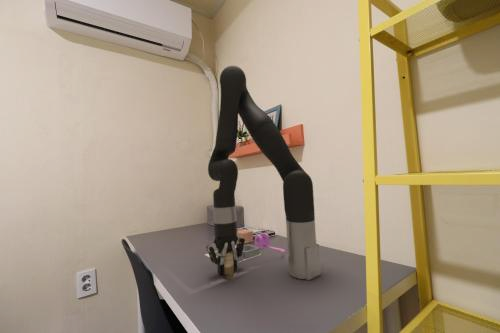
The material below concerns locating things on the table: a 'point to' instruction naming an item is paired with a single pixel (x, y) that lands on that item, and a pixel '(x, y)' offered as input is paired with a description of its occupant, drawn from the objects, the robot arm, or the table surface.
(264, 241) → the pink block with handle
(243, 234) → the orange cube
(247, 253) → the board
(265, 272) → the table surface
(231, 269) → the peg
